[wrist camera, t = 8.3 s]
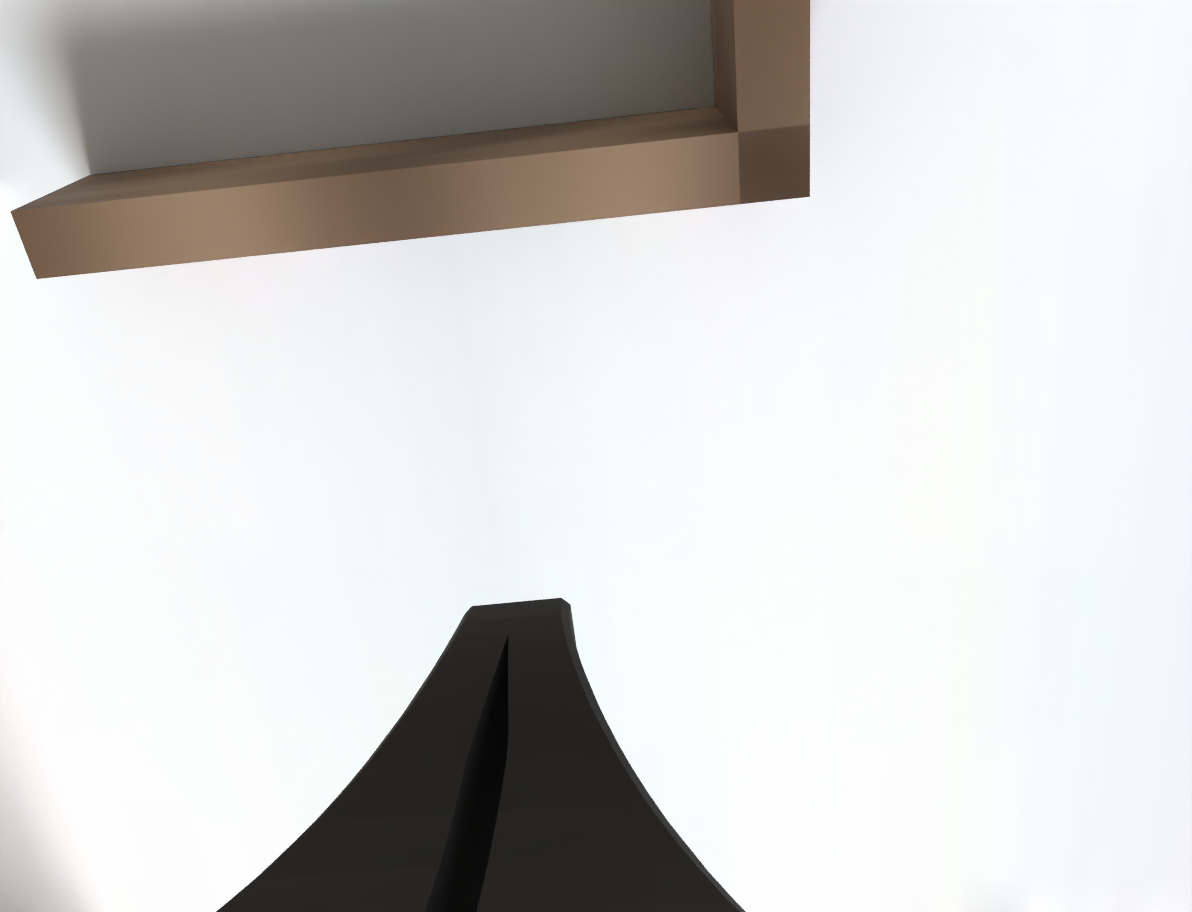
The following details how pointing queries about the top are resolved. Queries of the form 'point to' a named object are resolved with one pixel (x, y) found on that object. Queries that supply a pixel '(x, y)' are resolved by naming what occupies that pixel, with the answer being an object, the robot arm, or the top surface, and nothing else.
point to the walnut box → (460, 172)
